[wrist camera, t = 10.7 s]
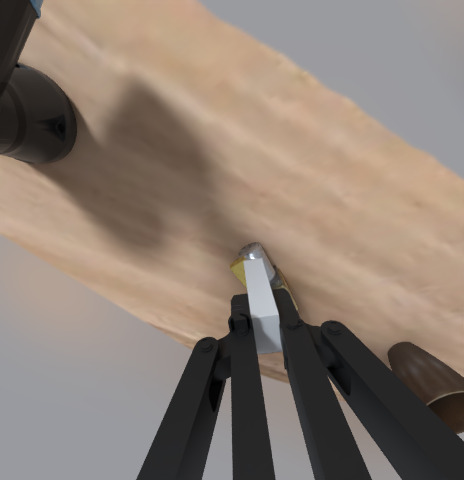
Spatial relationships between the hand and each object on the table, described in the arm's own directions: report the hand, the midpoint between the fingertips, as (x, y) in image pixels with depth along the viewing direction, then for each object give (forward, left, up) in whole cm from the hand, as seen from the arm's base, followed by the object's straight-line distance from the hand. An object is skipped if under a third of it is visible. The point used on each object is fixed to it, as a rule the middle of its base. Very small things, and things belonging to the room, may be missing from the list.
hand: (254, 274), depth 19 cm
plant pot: (+59, +19, -29) cm, 69 cm away
